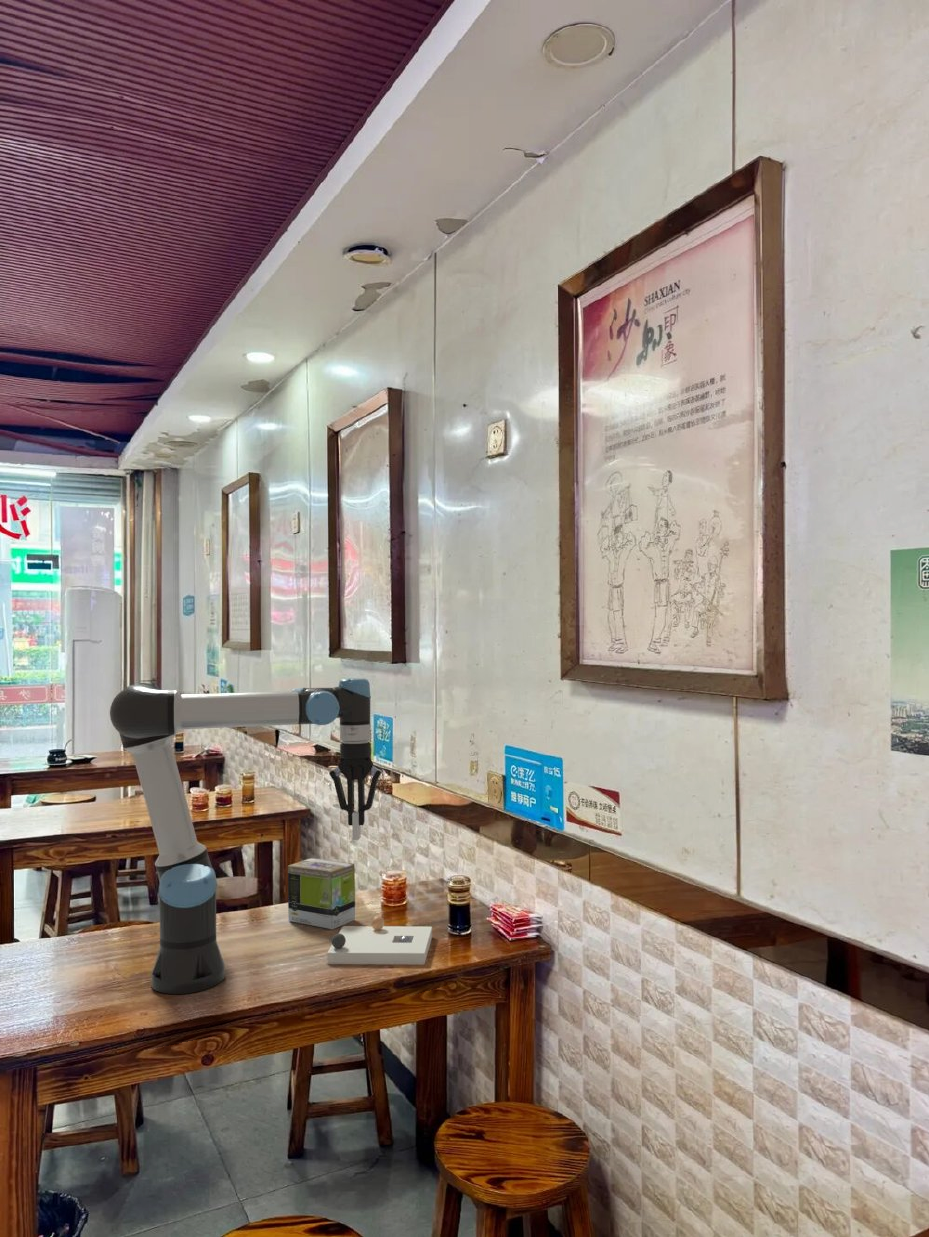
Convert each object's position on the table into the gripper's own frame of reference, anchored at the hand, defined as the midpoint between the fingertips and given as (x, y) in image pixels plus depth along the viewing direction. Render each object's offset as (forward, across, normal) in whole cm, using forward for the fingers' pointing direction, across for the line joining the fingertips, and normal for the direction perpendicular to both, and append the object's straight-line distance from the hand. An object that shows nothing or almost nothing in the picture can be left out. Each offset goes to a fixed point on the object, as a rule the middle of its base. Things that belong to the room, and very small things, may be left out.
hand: (356, 838), depth 210 cm
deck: (+24, +7, -7) cm, 26 cm away
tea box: (+25, -12, +14) cm, 31 cm away
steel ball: (+23, +13, -7) cm, 27 cm away
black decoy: (+20, -2, -13) cm, 24 cm away
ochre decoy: (+20, +5, 0) cm, 21 cm away
